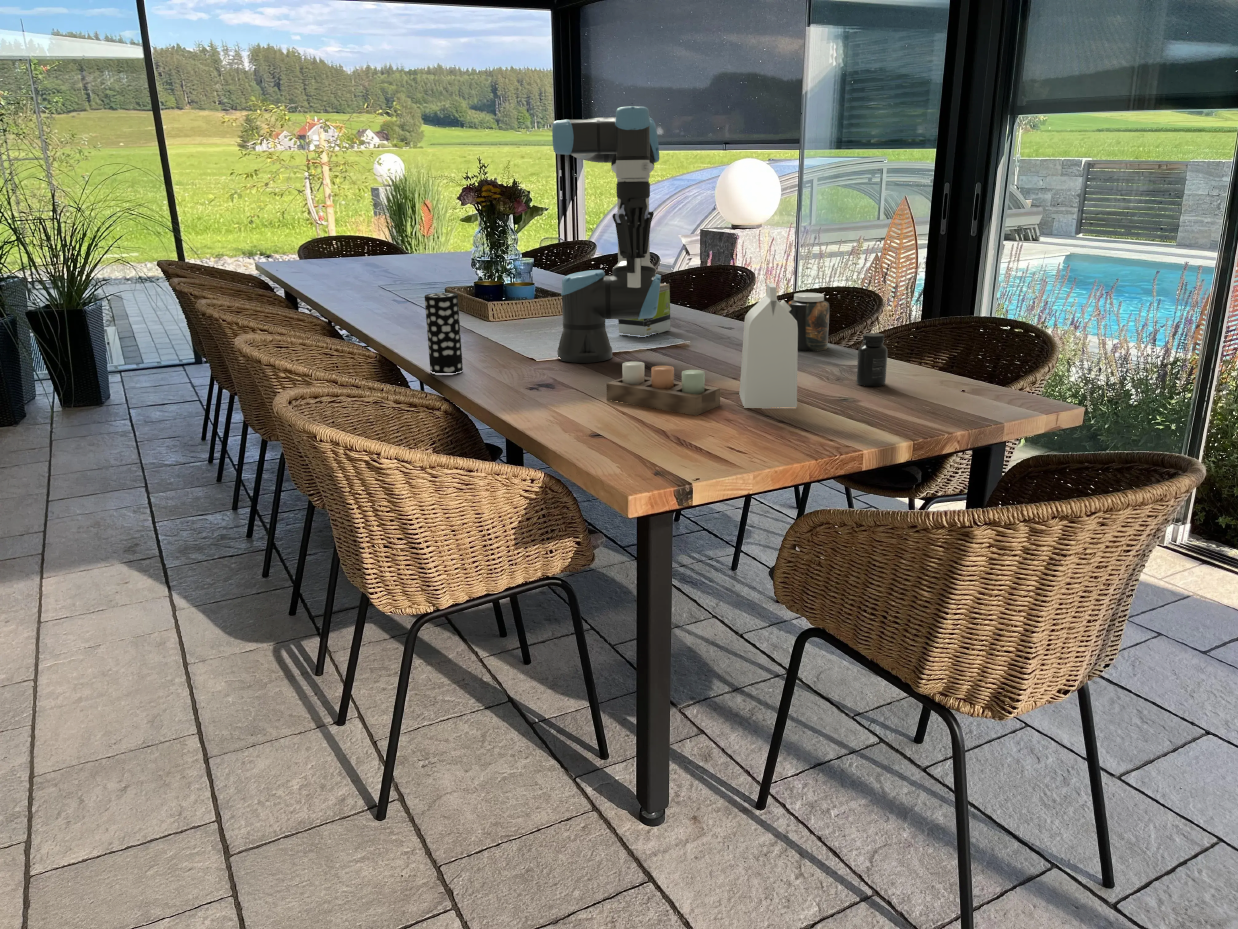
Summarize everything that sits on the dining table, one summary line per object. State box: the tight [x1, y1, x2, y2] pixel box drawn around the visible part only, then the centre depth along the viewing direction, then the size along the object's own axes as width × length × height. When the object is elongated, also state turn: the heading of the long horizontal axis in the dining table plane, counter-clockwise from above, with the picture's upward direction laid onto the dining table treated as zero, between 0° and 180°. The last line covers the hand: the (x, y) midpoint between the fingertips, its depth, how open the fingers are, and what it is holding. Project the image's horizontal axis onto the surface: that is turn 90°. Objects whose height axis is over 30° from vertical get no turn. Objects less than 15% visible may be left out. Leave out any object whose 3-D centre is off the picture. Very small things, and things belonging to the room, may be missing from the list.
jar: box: [787, 292, 830, 352], centre depth 267 cm, size 12×12×15 cm
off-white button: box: [621, 361, 645, 385], centre depth 215 cm, size 5×5×5 cm
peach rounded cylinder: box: [650, 365, 675, 390], centre depth 211 cm, size 5×5×5 cm
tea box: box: [617, 283, 671, 336], centre depth 291 cm, size 15×10×15 cm, turn 144°
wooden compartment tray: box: [605, 376, 721, 416], centre depth 212 cm, size 24×10×4 cm, turn 54°
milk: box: [738, 282, 799, 409], centre depth 208 cm, size 12×12×26 cm
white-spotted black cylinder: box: [423, 292, 464, 373], centre depth 242 cm, size 8×8×20 cm
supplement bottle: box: [856, 332, 888, 387], centre depth 225 cm, size 7×7×12 cm
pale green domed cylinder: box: [681, 369, 706, 395], centre depth 206 cm, size 5×5×5 cm
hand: (634, 287), depth 218 cm, fingers closed
